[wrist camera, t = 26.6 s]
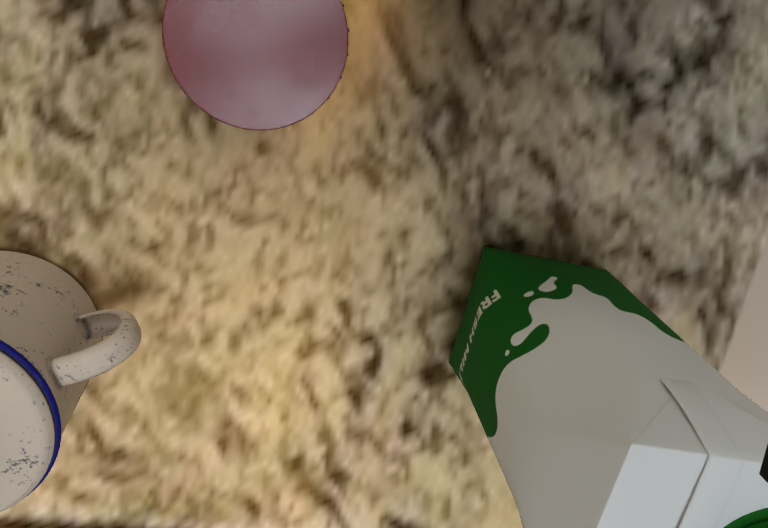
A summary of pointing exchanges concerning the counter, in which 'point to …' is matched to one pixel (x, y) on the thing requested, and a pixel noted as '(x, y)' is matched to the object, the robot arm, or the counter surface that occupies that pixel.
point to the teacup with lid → (47, 363)
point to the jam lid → (256, 57)
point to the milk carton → (603, 404)
